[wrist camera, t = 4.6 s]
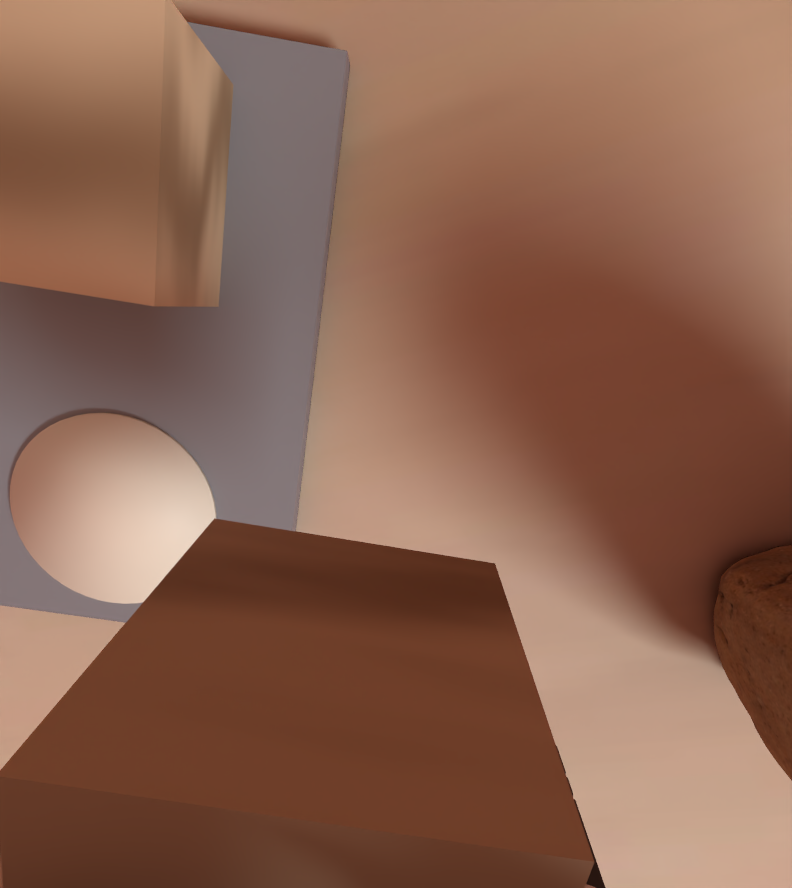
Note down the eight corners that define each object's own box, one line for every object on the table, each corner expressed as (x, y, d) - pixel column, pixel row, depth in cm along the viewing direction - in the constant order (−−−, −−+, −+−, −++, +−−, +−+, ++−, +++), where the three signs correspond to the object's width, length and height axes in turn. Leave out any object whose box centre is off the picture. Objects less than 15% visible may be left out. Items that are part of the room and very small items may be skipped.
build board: (-76, -12, 17) (-104, -31, 16) (350, 65, 17) (346, 50, 16) (-37, 585, 22) (-56, 597, 21) (284, 629, 23) (278, 643, 22)
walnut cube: (214, 518, 11) (-5, 775, 5) (494, 563, 11) (594, 862, 5) (197, 742, 12) (18, 1129, 7) (440, 778, 13) (471, 1184, 7)
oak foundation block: (13, 45, 16) (-149, -65, 11) (233, 84, 17) (165, -7, 12) (19, 274, 18) (-118, 262, 13) (218, 306, 18) (154, 306, 14)
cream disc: (9, 397, 19) (6, 398, 19) (223, 430, 20) (221, 431, 19) (16, 586, 21) (13, 588, 21) (210, 613, 22) (208, 616, 21)
